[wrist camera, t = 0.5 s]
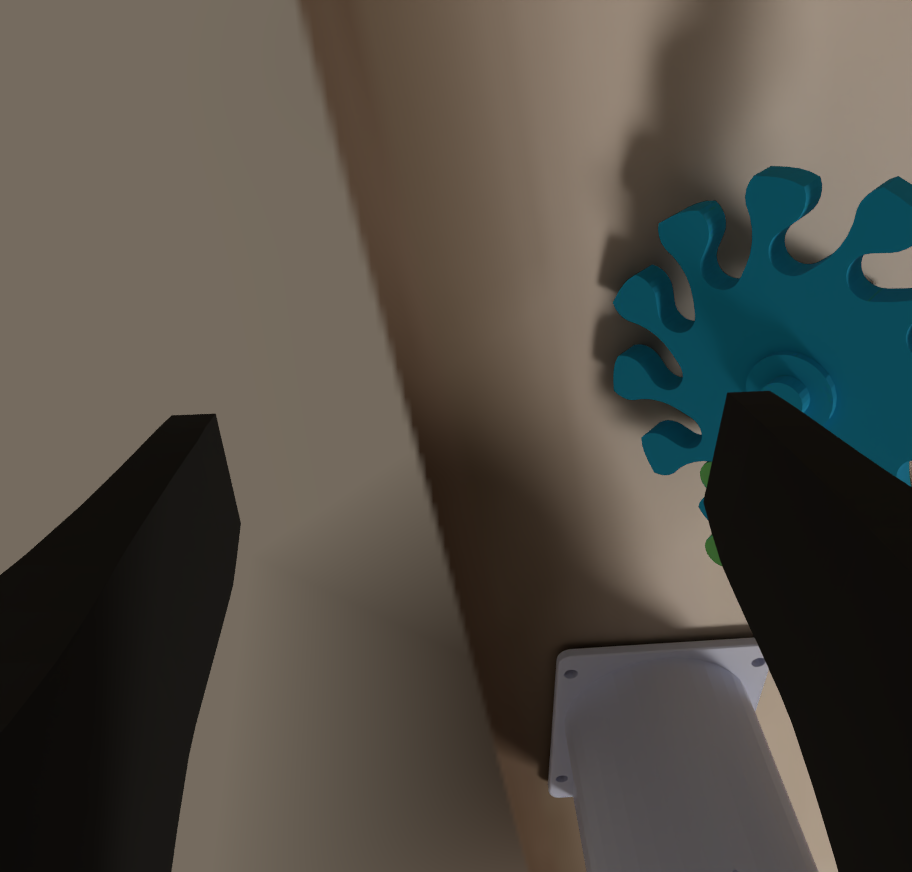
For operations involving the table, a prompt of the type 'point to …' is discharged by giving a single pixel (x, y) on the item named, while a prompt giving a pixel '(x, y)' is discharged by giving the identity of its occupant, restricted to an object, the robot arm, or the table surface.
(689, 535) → the table surface
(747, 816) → the robot arm
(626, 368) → the teal lobed flat part
